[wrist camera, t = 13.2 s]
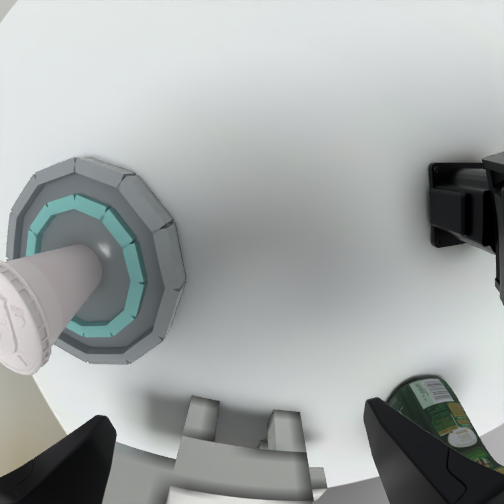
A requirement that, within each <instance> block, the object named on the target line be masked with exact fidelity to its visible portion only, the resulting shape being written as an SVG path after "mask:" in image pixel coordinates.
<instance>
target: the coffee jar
mask: <svg viewBox="0 0 504 504" xmlns="http://www.w3.org/2000/svg"><path fill="white" fill-rule="evenodd" d="M387 404H389V405H390V406H391V407H393V408H394V409H396V410H397V411H398V412H400V413H401V414H403V415H404V416H406V417H407V418H409V419H410V420H411V421H413V422H414V423H416V424H417V425H419V426H420V427H422V428H423V429H424V430H426V431H427V432H429V433H430V434H432V435H433V436H435V437H436V438H438V439H439V440H441V441H442V442H444V443H445V444H447V445H448V446H449V447H452V448H453V449H455V450H456V451H458V452H459V453H461V454H463V455H464V456H466V457H468V458H470V459H472V460H474V461H476V462H478V463H480V464H482V465H484V466H486V467H488V468H491V469H493V470H495V471H498V472H500V473H502V474H504V466H502V465H500V464H498V463H497V462H496V461H495V460H494V459H493V458H492V456H491V455H490V454H489V452H488V451H487V449H486V448H485V446H484V445H483V443H482V442H481V439H480V438H479V436H478V434H477V432H476V431H475V429H474V427H473V425H472V424H471V422H470V420H469V418H468V416H467V415H466V413H465V411H464V409H463V407H462V405H461V404H460V402H459V400H458V398H457V397H456V395H455V394H454V392H453V391H452V389H451V388H450V386H449V385H448V384H447V382H446V381H444V380H442V379H438V378H421V379H418V380H414V381H412V382H410V383H408V384H406V385H404V386H402V387H401V388H399V389H398V390H397V391H396V392H395V394H394V395H393V396H392V398H391V399H390V401H389V402H388V403H387Z"/></svg>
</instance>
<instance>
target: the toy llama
mask: <svg viewBox="0 0 504 504" xmlns="http://www.w3.org/2000/svg"><path fill="white" fill-rule="evenodd" d="M219 402H220V401H216V400H211V399H206V398H202V397H197V396H192V399H191V402H190V406H189V410H188V414H187V418H186V422H185V426H184V430H183V434H182V438H181V442H180V446H179V450H178V454H177V458H176V459H172V458H168V457H164V456H160V455H157V454H153V453H150V452H146V451H143V450H140V449H136V448H133V447H130V446H127V445H124V444H121V443H118V442H115V448H114V454H113V460H112V466H111V470H110V474H109V478H108V482H107V486H106V489H105V493H104V497H103V501H102V504H311V503H312V502H313V501H314V500H317V499H318V498H319V497H320V496H321V495H322V494H323V493H324V492H325V491H326V490H327V484H326V478H325V473H324V468H323V467H309V466H308V459H307V453H306V447H305V441H304V435H303V428H302V422H301V417H300V412H293V411H283V410H273V413H272V415H271V418H270V420H269V423H268V425H267V432H268V441H265V440H261V442H260V444H259V446H258V449H256V448H248V447H240V446H234V445H227V444H221V443H215V442H214V438H215V431H216V424H217V416H218V409H219Z"/></svg>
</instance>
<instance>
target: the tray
mask: <svg viewBox="0 0 504 504" xmlns="http://www.w3.org/2000/svg"><path fill="white" fill-rule="evenodd" d="M11 211H12V212H11V213H10V216H9V225H8V235H7V249H6V257H7V258H9V259H7V261H11V260H14V259H19V258H23V257H26V256H30V255H34V254H38V253H42V252H46V251H51V250H55V249H59V248H63V247H67V246H72V245H76V244H83V245H86V246H88V247H89V248H91V249H92V250H93V251H94V252H95V253H96V255H97V256H98V258H99V260H100V262H101V266H102V279H101V282H100V284H99V285H98V286H97V287H96V289H95V290H94V291H93V292H92V294H91V295H90V296H89V297H88V299H87V300H86V301H85V302H84V304H83V305H82V306H81V308H80V309H79V310H78V311H77V313H76V314H75V315H74V317H73V318H72V319H71V321H70V322H69V323H68V324H67V326H66V327H65V329H64V330H63V331H62V333H61V334H60V335H59V337H58V338H57V340H56V341H55V342H54V345H56V346H58V347H59V348H61V349H63V350H64V351H66V352H68V353H70V354H72V355H73V356H75V357H77V358H79V359H81V360H82V361H84V362H86V363H87V361H88V362H89V363H91V364H128V363H130V364H131V363H132V362H134V361H135V360H137V359H138V358H140V357H141V356H142V355H144V354H145V353H147V352H148V351H150V350H151V349H152V348H154V347H155V346H157V345H158V344H160V343H161V342H163V340H164V339H165V337H166V335H167V333H168V331H169V329H170V327H171V325H172V322H173V319H174V316H175V313H176V310H177V306H178V303H179V300H180V297H181V294H182V291H183V288H184V285H185V282H186V281H184V280H185V279H186V275H185V271H184V266H183V261H182V257H181V252H180V247H179V242H178V237H177V231H176V226H175V223H171V221H172V220H173V218H172V217H171V216H170V215H169V213H168V212H167V211H166V210H165V208H164V207H163V206H162V205H161V203H160V202H159V201H158V200H157V198H156V197H155V196H154V195H153V193H152V192H151V191H150V190H149V188H148V187H147V186H146V185H145V183H144V182H143V181H142V179H141V178H140V177H139V176H135V173H133V172H130V171H128V170H125V169H122V168H119V167H116V166H113V165H110V164H108V163H105V162H102V161H99V160H96V159H93V158H79V157H77V158H71V159H69V160H66V161H63V162H61V163H58V164H55V165H53V166H50V167H48V168H45V169H43V170H40V171H38V172H36V173H35V174H33V176H32V177H31V178H30V180H29V181H28V183H27V185H26V186H25V188H24V189H23V191H22V192H21V194H20V196H19V197H18V199H17V200H16V202H15V204H14V205H13V207H12V209H11Z"/></svg>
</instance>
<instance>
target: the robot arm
mask: <svg viewBox="0 0 504 504" xmlns="http://www.w3.org/2000/svg"><path fill="white" fill-rule="evenodd" d="M435 167H436V172H435V171H434V168H435ZM482 167H483V169H482ZM429 176H430V208H431V224H432V238H431V241H432V245H433V246H435V247H437V248H441V247H446V246H452V245H458V244H463V243H468V244H471V245H473V246H476V247H478V248H480V249H482V250H485V251H487V252H489V253H491V254H494V255H496V278H495V287H496V288H497V290H498V291H499V292H500V299H501V301H502V303H503V305H504V152H501V153H498V154H495V155H492V156H489V157H486V158H483V159H482V163H431V164H430V166H429ZM437 239H439V241H438V243H437ZM364 424H365V428H366V432H367V436H368V440H369V444H370V448H371V452H372V456H373V459H374V462H375V465H376V468H377V470H378V473H379V476H380V478H381V481H382V483H383V486H384V489H385V491H386V494H387V497H388V500H389V502H390V504H504V474H502V473H500V472H498V471H495V470H493V469H491V468H488V467H486V466H484V465H482V464H480V463H478V462H476V461H474V460H472V459H470V458H468V457H466V456H464V455H463V454H461V453H459V452H458V451H456V450H455V449H453V448H452V447H449V446H448V445H447V444H445V443H444V442H442V441H441V440H439V439H438V438H436V437H435V436H433V435H432V434H430V433H429V432H427V431H426V430H424V429H423V428H422V427H420V426H419V425H417V424H416V423H414V422H413V421H411V420H410V419H409V418H407V417H406V416H404V415H403V414H401V413H400V412H398V411H397V410H396V409H394V408H393V407H391V406H390V405H389V404H387V403H386V402H384V401H383V400H382V399H380V398H378V397H375V398H371V399H368V400H366V402H365V409H364ZM116 436H117V434H116V430H115V428H114V427H113V425H112V423H111V422H110V420H109V418H108V417H107V416H103V415H96V416H94V417H93V418H92V419H90V420H89V421H87V422H86V423H85V424H83V425H82V426H80V427H79V428H78V429H76V430H75V431H73V432H72V433H70V434H69V435H67V436H66V437H65V438H63V439H62V440H60V441H59V442H57V443H56V444H54V445H53V446H51V447H50V448H48V449H47V450H46V451H44V452H43V453H41V454H40V455H38V456H37V457H35V458H34V459H32V460H30V461H29V462H27V463H26V464H24V465H23V466H21V467H19V468H18V469H16V470H14V471H12V472H10V473H8V474H6V475H4V476H2V477H0V504H102V501H103V497H104V493H105V489H106V486H107V482H108V478H109V474H110V470H111V466H112V460H113V454H114V448H115V442H116Z"/></svg>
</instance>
